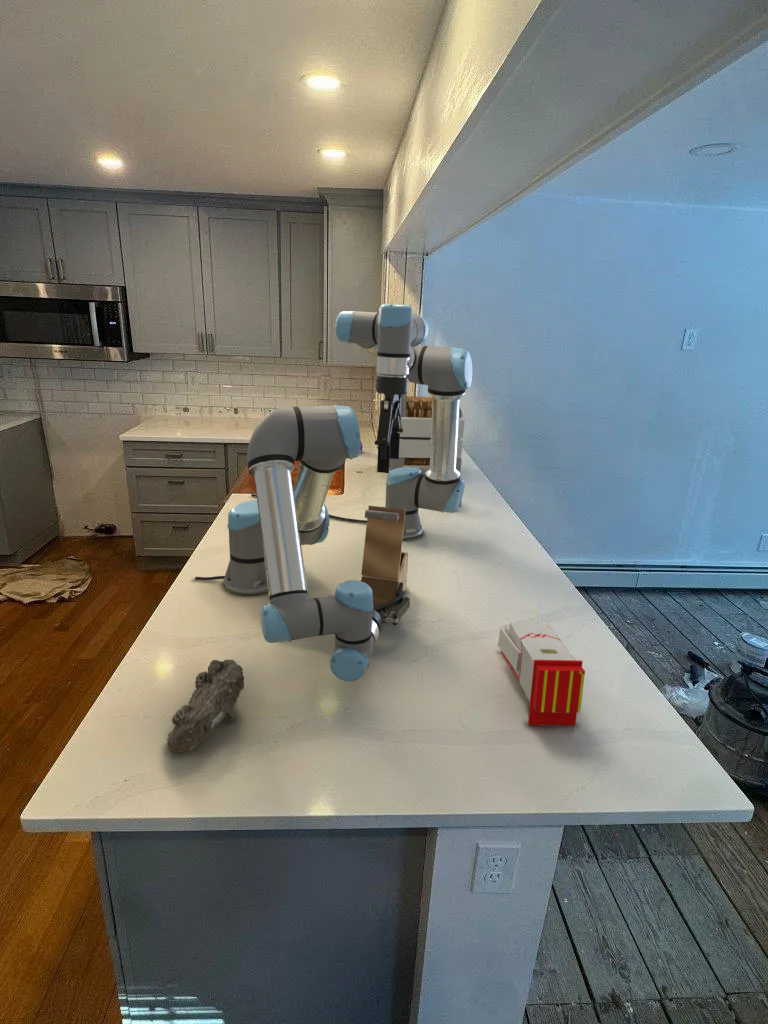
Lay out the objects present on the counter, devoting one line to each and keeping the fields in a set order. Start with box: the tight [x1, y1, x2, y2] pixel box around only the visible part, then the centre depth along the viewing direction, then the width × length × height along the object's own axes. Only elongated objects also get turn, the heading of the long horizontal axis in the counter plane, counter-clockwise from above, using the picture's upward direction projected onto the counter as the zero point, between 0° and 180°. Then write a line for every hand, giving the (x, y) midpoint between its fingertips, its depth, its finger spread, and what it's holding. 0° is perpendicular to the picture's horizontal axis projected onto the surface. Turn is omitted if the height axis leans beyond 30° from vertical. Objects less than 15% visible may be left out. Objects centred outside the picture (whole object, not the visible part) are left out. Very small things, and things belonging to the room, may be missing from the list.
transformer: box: [389, 393, 465, 475], centre depth 268 cm, size 34×33×41 cm
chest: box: [361, 551, 409, 616], centre depth 152 cm, size 17×9×11 cm, turn 169°
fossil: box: [166, 658, 245, 754], centre depth 106 cm, size 22×10×15 cm
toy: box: [497, 621, 586, 727], centre depth 121 cm, size 12×13×30 cm
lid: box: [361, 505, 406, 580], centre depth 138 cm, size 18×9×8 cm
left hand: (382, 584), depth 148 cm, fingers closed on chest, 9 cm apart
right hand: (388, 465), depth 137 cm, fingers open, 13 cm apart
